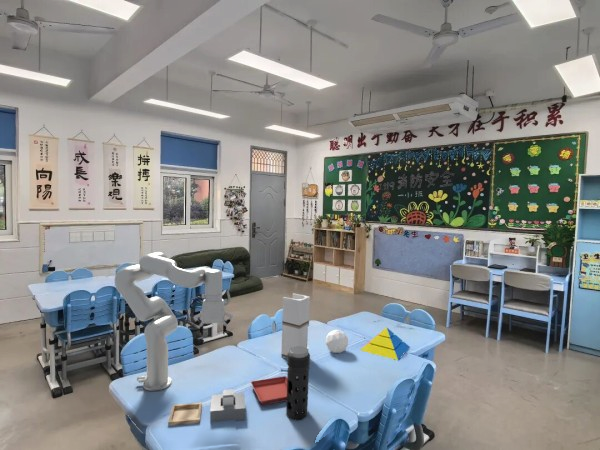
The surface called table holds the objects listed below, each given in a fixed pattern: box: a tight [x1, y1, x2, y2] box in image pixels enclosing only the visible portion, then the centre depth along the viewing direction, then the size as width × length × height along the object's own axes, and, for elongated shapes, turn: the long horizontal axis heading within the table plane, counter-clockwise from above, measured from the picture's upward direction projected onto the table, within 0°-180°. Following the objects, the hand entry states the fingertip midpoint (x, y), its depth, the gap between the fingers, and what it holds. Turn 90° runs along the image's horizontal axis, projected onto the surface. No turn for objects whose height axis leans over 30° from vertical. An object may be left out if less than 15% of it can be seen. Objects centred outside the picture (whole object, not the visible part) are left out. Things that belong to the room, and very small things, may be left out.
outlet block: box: [209, 392, 246, 423], centre depth 151 cm, size 14×12×5 cm
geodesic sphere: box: [325, 329, 349, 354], centre depth 215 cm, size 14×14×14 cm
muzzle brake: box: [285, 346, 311, 421], centre depth 152 cm, size 10×28×10 cm
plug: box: [222, 388, 235, 406], centre depth 151 cm, size 4×4×8 cm
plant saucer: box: [250, 375, 292, 406], centre depth 168 cm, size 18×18×3 cm
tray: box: [167, 401, 203, 427], centre depth 148 cm, size 12×12×2 cm
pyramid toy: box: [359, 327, 411, 361], centre depth 222 cm, size 25×25×14 cm
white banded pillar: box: [280, 292, 311, 360], centre depth 206 cm, size 11×11×35 cm
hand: (213, 333), depth 164 cm, fingers open, 9 cm apart
